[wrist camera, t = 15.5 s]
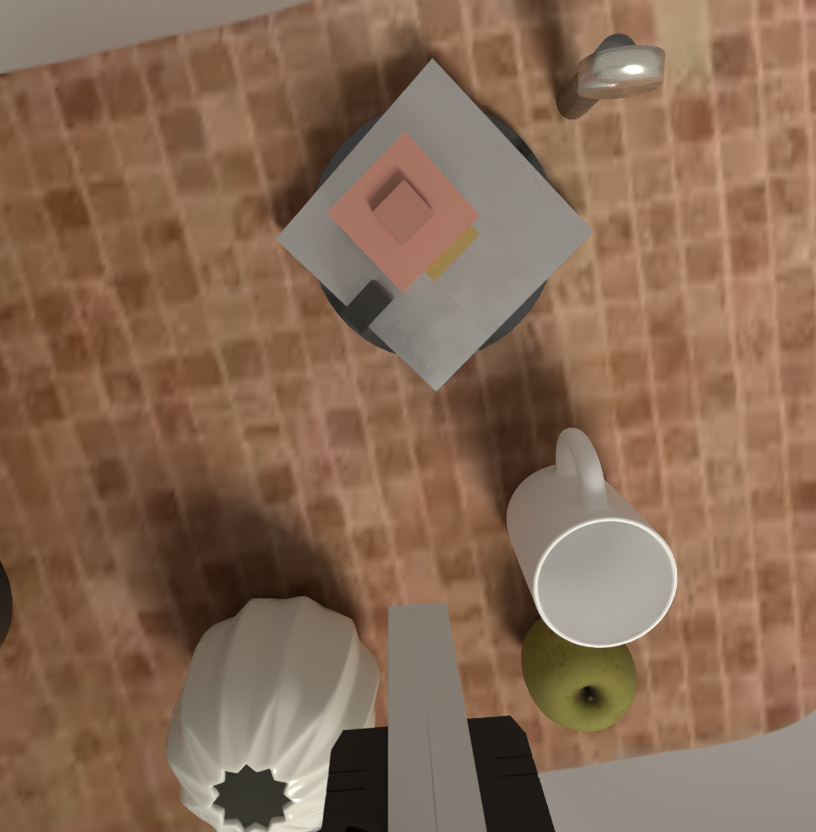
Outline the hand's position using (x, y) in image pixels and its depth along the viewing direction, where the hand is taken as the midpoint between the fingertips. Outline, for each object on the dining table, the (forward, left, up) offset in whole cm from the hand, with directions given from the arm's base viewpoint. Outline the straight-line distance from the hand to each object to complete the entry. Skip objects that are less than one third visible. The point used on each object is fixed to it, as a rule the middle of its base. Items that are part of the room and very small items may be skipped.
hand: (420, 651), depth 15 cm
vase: (-10, -19, -28) cm, 35 cm away
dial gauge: (+11, +20, -27) cm, 35 cm away
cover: (0, +13, -25) cm, 28 cm away
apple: (+11, -18, -28) cm, 35 cm away
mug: (+11, -6, -28) cm, 30 cm away
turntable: (+2, +12, -26) cm, 29 cm away
